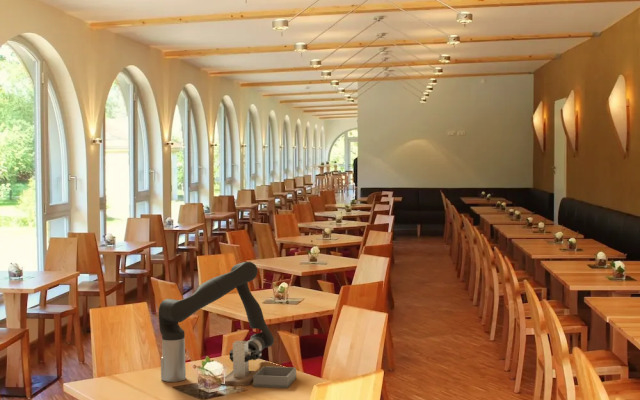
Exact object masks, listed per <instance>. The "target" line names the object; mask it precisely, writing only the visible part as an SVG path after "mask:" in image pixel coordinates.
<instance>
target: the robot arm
mask: <svg viewBox="0 0 640 400" xmlns="http://www.w3.org/2000/svg"><path fill="white" fill-rule="evenodd" d="M257 275H258V266H257V265H256V264H255V263H254V262H252V261H243V262H240V263H237V264H234V265H233V266H232V267H231V269H230V271H229V272H227V273H224V274H220V275H217V276H215V277H212V278H210V279H207V280H206V281H204V282H203V283H201V284H200V285H198V287H197V288H196V289H195V291H194V292H193V294H191V295H189V296H187V297H185V298H182V299H172V298H166V299H164V300H162V301H161V302H160V304H159V307H158V324H159V325H158V326H159V331H160V334H161V343H162V344H161V345H162V346H161V348H162V351H161V352H162V356H161V357H160V378H161V379H160V380H161V381H163V382H168V383H176V382H181V381H184V380H186V377H187V376H186V374H187V371H186V342H185V341H186V340H185V338H186V337H185V330H184V329H183V328H182V327H181V326H180V324H179V323H181V322H183V321H185V320H187V319H188V318H190V317H191V316H192V315H193V314H195V313H196V312H198V311H199V310H201V309H203V308H205V307H206V306H209V305H210V304H212V303H214V302H215V301H218V300H219V299H221V298H222V297H224V296H226V295H228V293H230V292H232V291H233V290H234V289H236V291H237V293H238V295H239V298H240V300H241V303H242V304H243V308H244V310H245V313H246V314H245V315H246V318H247V322H248V324H249V327H250V328H251V329H253V330H254V329H255V330H257V329H259V330H260V331H261V332H257V333H255V334H252V335H251V336H250V338H249V340H247V341H248V355H246V356H245V358H244V360H245V362H247V361H256V360H259V359H261V358H262V352H263V350H264V349H265V348H269V347H272V346H273V345H274V342H275V338H274V336H273V334H272V332H271V330H270V328H269V327H268V325H267V323H266V321H265V317H264V314H263V311H262V308H261V305H260V304H259V302H258V301H257V299H256V298H255V297H254V295H253V294H252V292H251V290H250V287H249V284H248V283H250V282H252V281H255V279H256V278H257ZM229 360H230V361H231V362H232V363H233V349H230V351H229Z"/></svg>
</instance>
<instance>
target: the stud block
mask: <svg viewBox="0 0 640 400" xmlns="http://www.w3.org/2000/svg"><path fill="white" fill-rule="evenodd" d="M258 371H259V370H249V375H248V376H247V377H246V378H237V377H233V370H232V371H230V372H229V373H228V374H227V375H226V376H224V378H225V384H226V385H225V386H242V387H243V386H247V387H250V386H251V385H253V375H254V374H256V373H257V372H258Z"/></svg>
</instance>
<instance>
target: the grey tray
mask: <svg viewBox="0 0 640 400" xmlns="http://www.w3.org/2000/svg"><path fill="white" fill-rule="evenodd" d="M257 371H258V372H257V373H256V374H254V375H253V383H252V385H253V387H254V388H274V389H289V388H290V386H291V385H292V384H293V383H294V381H296V379H297V368H296V367H292V366H291V367H290V366H268V365H267V366H262V367H260V369H258V370H257Z"/></svg>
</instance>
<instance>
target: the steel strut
mask: <svg viewBox="0 0 640 400" xmlns="http://www.w3.org/2000/svg"><path fill="white" fill-rule="evenodd" d="M232 350H233V362H232V369H233V370H232V371H233V377H237V378H246V377H247V376H248V375H249V371H250V369H249V367H250V366H249V361H250V360H249V361H247V362H245V360H244V358H245V356H246V355H248V340H235V341H234V342H232Z"/></svg>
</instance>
